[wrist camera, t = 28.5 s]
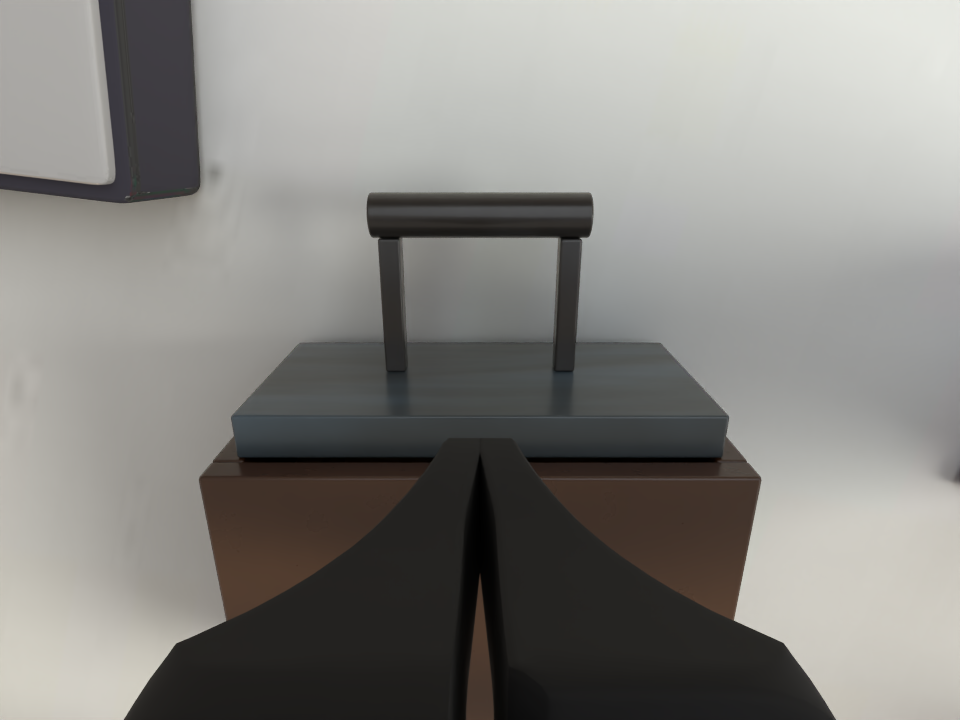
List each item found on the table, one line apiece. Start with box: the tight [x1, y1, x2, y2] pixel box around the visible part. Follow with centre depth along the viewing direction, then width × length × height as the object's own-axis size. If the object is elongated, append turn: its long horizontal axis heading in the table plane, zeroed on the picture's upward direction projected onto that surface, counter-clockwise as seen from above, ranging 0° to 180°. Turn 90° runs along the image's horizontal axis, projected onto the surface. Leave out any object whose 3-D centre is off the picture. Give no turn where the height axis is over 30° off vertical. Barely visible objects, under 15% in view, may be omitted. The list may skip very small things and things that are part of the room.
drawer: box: [231, 193, 729, 462], centre depth 18 cm, size 18×12×6 cm
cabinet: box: [199, 437, 761, 720], centre depth 20 cm, size 14×14×8 cm
